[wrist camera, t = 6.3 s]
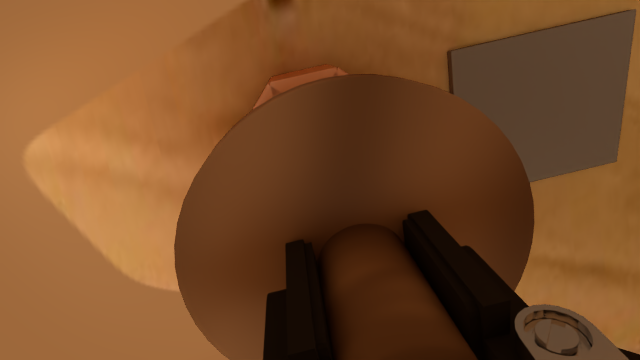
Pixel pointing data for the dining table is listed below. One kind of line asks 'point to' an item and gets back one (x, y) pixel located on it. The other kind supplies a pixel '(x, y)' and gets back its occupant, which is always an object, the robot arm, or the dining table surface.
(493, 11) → the dining table surface
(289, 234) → the lid
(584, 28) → the mat
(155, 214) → the dining table surface
